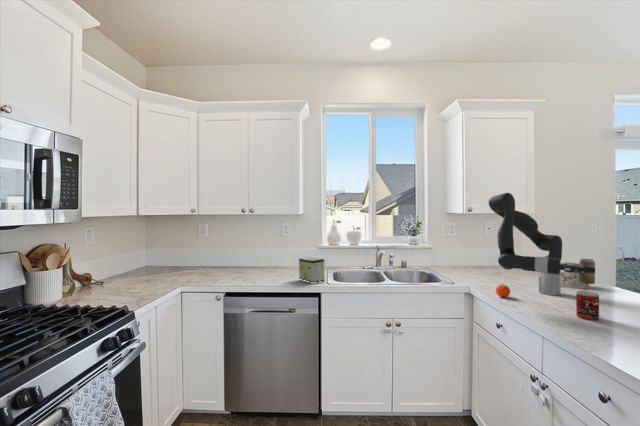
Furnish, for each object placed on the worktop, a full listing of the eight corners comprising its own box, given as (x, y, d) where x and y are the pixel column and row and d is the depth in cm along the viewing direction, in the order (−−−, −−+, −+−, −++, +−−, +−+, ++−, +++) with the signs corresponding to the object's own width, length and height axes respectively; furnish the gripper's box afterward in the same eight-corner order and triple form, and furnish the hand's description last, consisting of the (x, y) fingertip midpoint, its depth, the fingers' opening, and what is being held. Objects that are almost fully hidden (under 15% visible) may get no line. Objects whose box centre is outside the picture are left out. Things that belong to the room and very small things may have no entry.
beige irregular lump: (594, 287, 193) (591, 262, 193) (574, 290, 188) (572, 265, 189) (567, 283, 208) (565, 260, 208) (549, 286, 203) (546, 262, 203)
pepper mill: (577, 281, 141) (577, 259, 141) (583, 280, 143) (583, 258, 143) (591, 284, 136) (591, 260, 136) (597, 283, 138) (597, 259, 138)
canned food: (575, 318, 139) (575, 293, 139) (577, 313, 145) (577, 289, 145) (598, 322, 134) (598, 296, 134) (599, 317, 140) (599, 292, 140)
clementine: (515, 298, 171) (515, 285, 171) (505, 299, 169) (504, 286, 169) (502, 294, 178) (502, 282, 178) (492, 295, 176) (492, 283, 176)
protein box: (310, 278, 228) (309, 256, 228) (325, 281, 217) (324, 259, 217) (298, 280, 221) (298, 258, 221) (313, 284, 210) (313, 260, 210)
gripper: (545, 259, 143) (595, 263, 132) (548, 255, 154) (594, 259, 143) (545, 275, 143) (595, 281, 132) (548, 271, 154) (594, 275, 143)
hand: (594, 269), depth 138 cm, fingers closed on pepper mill, 5 cm apart
